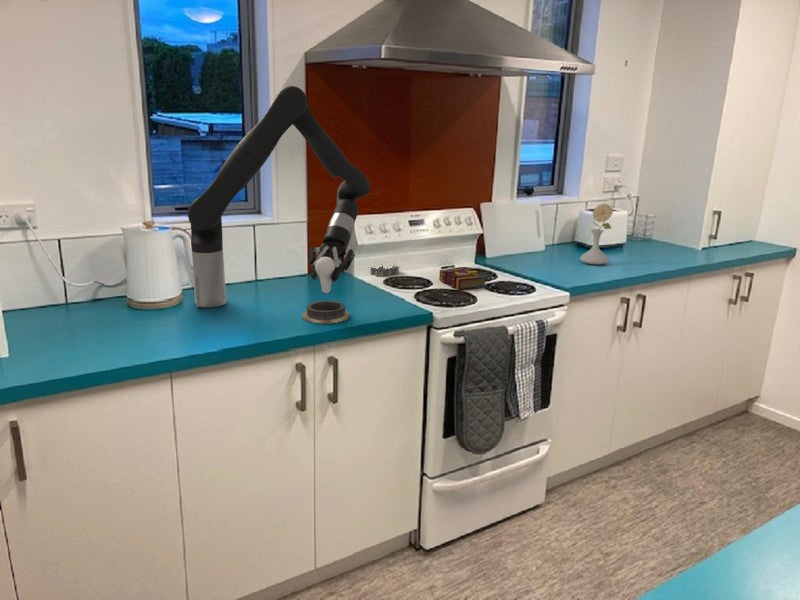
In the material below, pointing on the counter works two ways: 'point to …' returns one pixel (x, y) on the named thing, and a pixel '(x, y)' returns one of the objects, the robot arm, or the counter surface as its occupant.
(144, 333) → the counter surface
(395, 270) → the egg carton
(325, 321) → the bulb holder
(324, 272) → the lightbulb
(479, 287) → the decorative book
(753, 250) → the counter surface
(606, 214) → the flower in vase
